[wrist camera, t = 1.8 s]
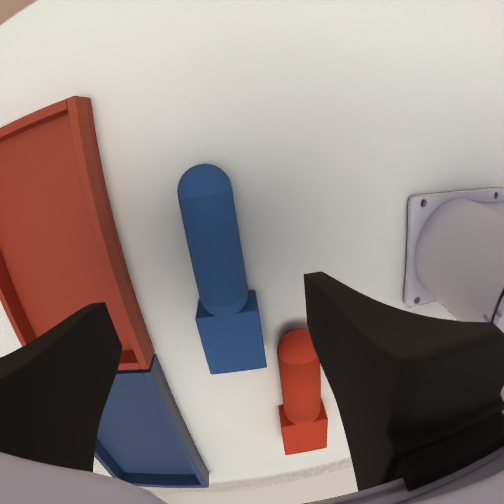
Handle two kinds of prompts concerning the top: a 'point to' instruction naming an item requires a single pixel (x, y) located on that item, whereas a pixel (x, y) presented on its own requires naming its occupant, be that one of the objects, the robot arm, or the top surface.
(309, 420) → the red block-ended rod
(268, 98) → the top surface
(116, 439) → the blue tray
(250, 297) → the blue block-ended rod
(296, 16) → the top surface
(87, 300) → the red tray
